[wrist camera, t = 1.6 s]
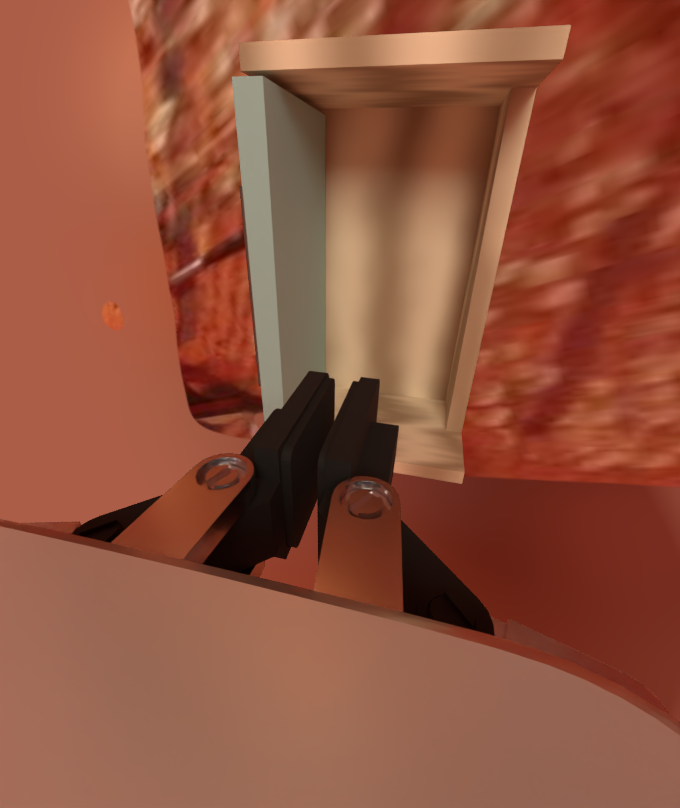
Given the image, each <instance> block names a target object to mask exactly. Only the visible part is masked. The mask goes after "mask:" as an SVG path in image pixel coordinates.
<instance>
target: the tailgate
mask: <svg viewBox="0 0 680 808" xmlns="http://www.w3.org/2000/svg"><path fill="white" fill-rule="evenodd" d="M232 84H233V94H234V105H235V115H236V126H237V137H238V147H239V158H240V168H241V179H242V186H239V187H240V198H241V208H242V218H243V228H244V239H245V249H246V259H247V269H248V280H249V290H250V300H251V310H252V321H253V331H254V341H255V351H256V361H257V372H258V382H259V386H261V391H262V401H263V412H264V422H265V421H266V420H267V418H268V417H269V416H270V414H271V413H272V412H273V411H274V410H275V409H277V408H279V409H282V407H283V406H284V405H285V403H286V402H287V401H288V399H289V398H290V396H291V395H292V394H293V392H294V391H295V390H296V388H297V387H298V385H299V384H300V383H301V381H302V380H303V379H304V377H305V376H306V375H307V373H308V372H309V371H316V372H324V373H325V115H324V114H323V113H321V112H319V111H318V110H316V109H315V108H313V107H311V106H310V105H308V104H307V103H305V102H304V101H302V100H300V99H299V98H297V97H296V96H294V95H292V94H291V93H289V92H288V91H286V90H285V89H283V88H281V87H280V86H278V85H277V84H275V83H273V82H272V81H270V80H269V79H267V78H266V77H264V76H240V77H232Z"/></svg>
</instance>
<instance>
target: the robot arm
mask: <svg viewBox="0 0 680 808" xmlns="http://www.w3.org/2000/svg"><path fill="white" fill-rule="evenodd" d="M379 387H380V379H374V378H366V377H361V378H360V380H359V382H358V381H353V382H352V384H351V386H350V388H349V391H348V393H347V395H346V397H345V399H344V401H343V404H342V406H341V408H340V410H339V412H338V414H337V416H336V419H335V421H334V418H335V379H334V378H329V374H328V373H324V372H316V371H309V372H308V373H307V375H306V376H305V377H304V379H303V380H302V381H301V383H300V384H299V385H298V387H297V388H296V390H295V391H294V392H293V394H292V395H291V396H290V398H289V399H288V401H287V402H286V403H285V405H284V406H283V407H282V409H279V408H277V409H275V410H274V411H273V412H272V413H271V414H270V416H269V417H268V418H267V420H266V421H265V422H264V424H263V425H262V426H261V428H260V429H259V430H258V432H257V433H256V434H255V435H254V437H253V438H252V439H251V441H250V442H249V443H248V445H247V446H246V447H245V449H244V450H243V451H242V453H241V454H233V453H225V454H218V455H214V456H211V457H208V458H206V459H204V460H202V461H201V462H199V463H198V464H196V465H195V466H194V467H193V468H192V469H191V470H190V471H189V472H187V473H186V474H185V475H184V476H183V477H182V478H181V479H180V480H179V481H178V482H177V483H175V484H174V485H173V486H172V487H171V488H170V489H169V490H168V491H167V492H166V493H165V494H164V495H161V496H158V497H155V498H152V499H149V500H146V501H143V502H140V503H137V504H134V505H131V506H128V507H126V508H122V509H119V510H116V511H114V512H110V513H108V514H105V515H102V516H99V517H97V518H94V519H92V520H90V521H88V522H86V523H84V524H83V525H81V523H80V522H44V523H18V522H13V521H8V520H3V519H0V808H680V722H679V721H678V720H676V719H675V718H673V717H672V716H671V715H670V714H669V713H668V711H667V710H666V708H665V707H664V705H663V704H662V703H661V701H660V700H659V699H658V698H657V697H656V696H655V695H654V694H653V693H652V692H651V691H650V690H649V689H648V688H647V687H645V686H644V685H643V684H641V683H640V682H639V681H637V680H635V679H634V678H632V677H631V676H629V675H627V674H626V673H624V672H622V671H619V670H617V669H615V668H613V667H611V666H609V665H607V664H604V663H602V662H600V661H598V660H596V659H594V658H592V657H590V656H587V655H585V654H583V653H581V652H578V651H577V650H574V649H572V648H570V647H568V646H566V645H564V644H562V643H560V642H558V641H555V640H553V639H551V638H549V637H547V636H545V635H543V634H540V633H538V632H536V631H534V630H532V629H530V628H528V627H525V626H523V625H521V624H519V623H517V622H515V621H513V620H511V619H509V620H508V622H507V624H505V623H503V622H501V621H499V620H497V619H494V618H493V617H491V616H490V615H489V612H488V611H487V609H486V608H485V607H484V605H483V604H482V603H481V602H480V600H479V599H478V598H477V597H476V596H475V595H474V594H473V593H472V592H471V591H470V590H469V589H468V588H467V587H466V586H465V585H464V584H463V583H462V582H461V581H460V580H459V579H458V578H457V577H456V575H455V574H453V572H452V571H451V570H450V569H449V568H448V567H447V566H446V565H445V564H444V563H443V562H442V561H441V560H440V559H439V558H438V557H437V556H436V555H435V554H434V553H433V552H432V551H431V550H430V549H429V548H428V547H427V546H426V545H425V544H424V543H423V542H422V541H421V540H420V539H419V538H418V537H417V536H416V535H415V534H414V533H413V532H412V531H411V529H409V528H408V527H407V525H406V524H405V523H404V522H402V520H401V506H400V499H399V495H398V493H397V492H396V490H395V489H394V488H393V487H392V486H391V482H392V477H393V471H394V464H395V457H396V449H397V441H398V432H399V425H392V424H385V423H378V422H377V412H378V400H379ZM317 499H318V570H317V575H316V580H315V585H314V590H309V589H304V588H300V587H297V586H292V585H288V584H284V583H280V582H275V581H271V580H267V579H263V578H260V576H261V574H262V572H263V569H264V567H265V560H267V559H269V558H271V557H278V558H283V559H286V558H287V556H288V553H289V551H290V548H291V547H295V548H296V547H298V545H299V543H300V540H301V538H302V535H303V533H304V530H305V528H306V526H307V523H308V521H309V518H310V516H311V513H312V511H313V508H314V506H315V503H316V501H317Z"/></svg>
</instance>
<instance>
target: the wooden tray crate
mask: <svg viewBox="0 0 680 808" xmlns="http://www.w3.org/2000/svg"><path fill="white" fill-rule="evenodd" d="M570 28H571V25H559V26H540V27H521V28H502V29H484V30H465V31H446V32H427V33H409V34H390V35H371V36H352V37H334V38H315V39H296V40H277V41H259V42H240V43H238V44H239V56H240V67H241V72H243V73H245V74H247V75H248V76H264V77H266V78H267V79H269V80H270V81H272V82H273V83H275V84H277V85H278V86H280V87H281V88H283V89H285V90H286V91H288V92H289V93H291V94H292V95H294V96H296V97H297V98H299V99H300V100H302V101H304V102H305V103H307V104H308V105H310V106H311V107H313V108H315V109H316V110H318V111H319V112H321V113H323V114H324V115H325V373H328V374H329V378H334V379H335V418H334V421H335V419H336V416H337V414H338V412H339V410H340V408H341V406H342V404H343V401H344V399H345V397H346V395H347V393H348V391H349V388H350V386H351V384H352V382H353V381H358V382H359V380H360V378H361V377H366V378H374V379H380V387H379V400H378V412H377V422H378V423H385V424H392V425H399V432H398V441H397V449H396V457H395V464H394V471H393V472H394V473H400V474H406V475H412V476H418V477H425V478H430V479H437V480H442V481H448V482H455V483H460V484H462V480H463V476H464V461H463V448H462V435H461V432H462V427H463V423H464V418H465V413H466V409H467V404H468V400H469V395H470V391H471V386H472V381H473V377H474V372H475V368H476V363H477V359H478V354H479V349H480V345H481V340H482V336H483V331H484V326H485V322H486V317H487V313H488V308H489V304H490V299H491V294H492V290H493V285H494V281H495V276H496V272H497V267H498V262H499V258H500V253H501V249H502V244H503V239H504V235H505V230H506V226H507V221H508V217H509V212H510V207H511V203H512V198H513V194H514V189H515V185H516V180H517V175H518V171H519V166H520V162H521V157H522V152H523V148H524V143H525V139H526V134H527V130H528V125H529V120H530V116H531V111H532V107H533V102H534V98H535V93H536V88H537V87H538V85H539V84H540V83H541V82H542V81H543V80H544V79H545V78H546V77H547V76H548V75H549V74H550V73H551V71H552V70H553V69H554V68H555V67H556V66H557V65H558V64H559V63H560V62H561V61H562V60H563V57H564V53H565V49H566V45H567V41H568V36H569V32H570Z"/></svg>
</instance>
